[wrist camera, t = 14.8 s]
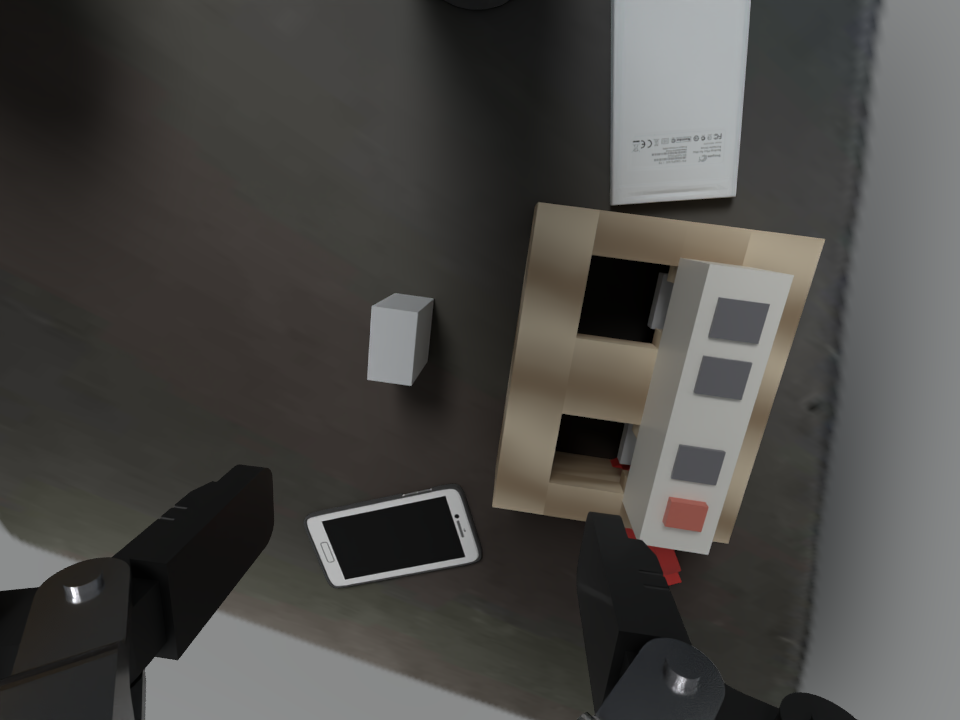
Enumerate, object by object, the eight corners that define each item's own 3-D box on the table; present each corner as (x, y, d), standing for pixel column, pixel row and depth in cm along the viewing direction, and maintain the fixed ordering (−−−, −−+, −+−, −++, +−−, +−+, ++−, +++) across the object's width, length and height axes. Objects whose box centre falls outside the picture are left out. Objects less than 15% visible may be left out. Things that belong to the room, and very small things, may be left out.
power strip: (660, 253, 31) (714, 264, 23) (722, 261, 31) (799, 276, 23) (611, 471, 36) (640, 549, 27) (664, 479, 36) (711, 560, 27)
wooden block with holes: (534, 206, 34) (538, 202, 27) (763, 236, 33) (825, 239, 27) (496, 458, 40) (492, 507, 33) (692, 488, 39) (727, 543, 32)
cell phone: (304, 512, 43) (299, 518, 42) (461, 478, 41) (459, 484, 40) (333, 583, 45) (329, 590, 44) (485, 555, 43) (484, 562, 42)
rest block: (395, 293, 37) (371, 306, 31) (433, 298, 36) (417, 312, 31) (390, 355, 38) (367, 379, 32) (427, 361, 38) (411, 385, 32)
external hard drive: (742, -11, 30) (728, 197, 33) (609, 3, 31) (608, 206, 34) (754, -24, 29) (738, 196, 32) (614, -9, 29) (612, 205, 33)
